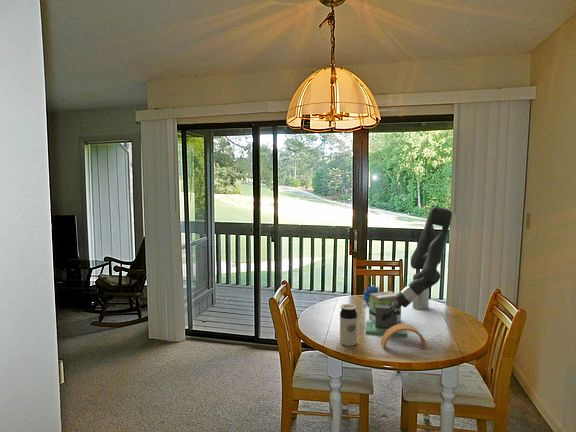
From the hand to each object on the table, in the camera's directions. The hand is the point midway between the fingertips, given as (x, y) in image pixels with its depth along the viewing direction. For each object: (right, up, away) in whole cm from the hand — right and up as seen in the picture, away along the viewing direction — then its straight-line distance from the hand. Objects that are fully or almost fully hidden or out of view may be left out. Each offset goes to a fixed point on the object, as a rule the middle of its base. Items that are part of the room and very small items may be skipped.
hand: (382, 317), depth 198 cm
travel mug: (-20, -8, -15) cm, 27 cm away
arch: (+5, -9, -20) cm, 22 cm away
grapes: (+4, -3, +46) cm, 46 cm away
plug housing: (+2, -4, 0) cm, 5 cm away
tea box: (+5, -6, +16) cm, 18 cm away
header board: (+2, -7, 0) cm, 7 cm away
